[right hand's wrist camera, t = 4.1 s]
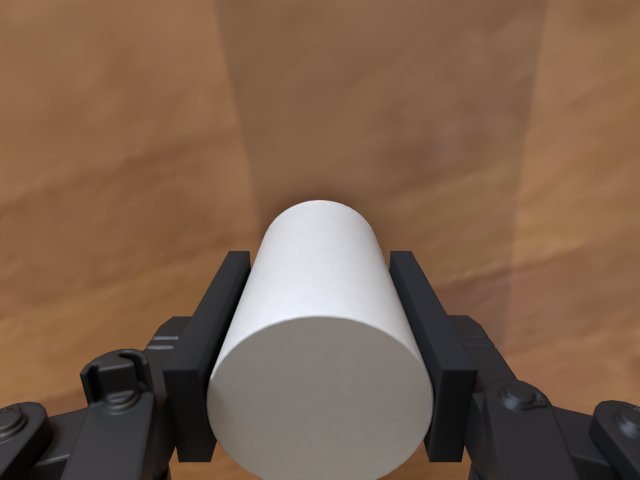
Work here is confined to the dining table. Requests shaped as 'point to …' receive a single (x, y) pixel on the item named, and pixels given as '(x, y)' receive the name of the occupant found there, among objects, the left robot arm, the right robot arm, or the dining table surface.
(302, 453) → the cylinder
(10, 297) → the dining table surface
